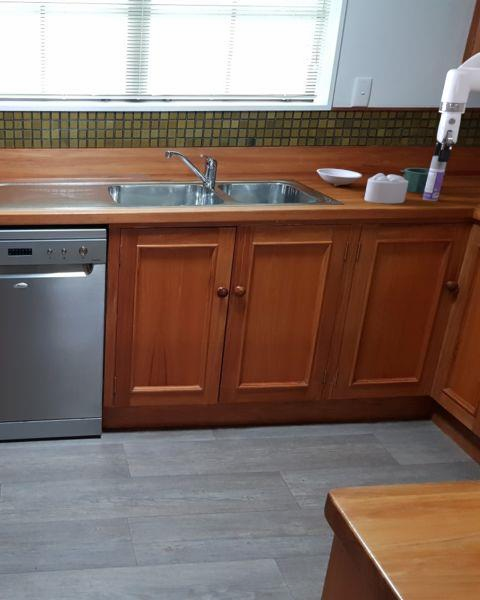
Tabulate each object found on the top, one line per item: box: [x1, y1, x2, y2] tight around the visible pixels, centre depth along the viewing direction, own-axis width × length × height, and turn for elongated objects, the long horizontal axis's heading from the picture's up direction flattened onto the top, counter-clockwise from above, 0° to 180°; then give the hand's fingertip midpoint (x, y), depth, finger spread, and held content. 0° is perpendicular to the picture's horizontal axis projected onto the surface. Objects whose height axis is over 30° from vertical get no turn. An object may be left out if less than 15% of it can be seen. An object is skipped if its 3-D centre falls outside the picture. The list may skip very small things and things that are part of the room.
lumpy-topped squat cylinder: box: [363, 172, 408, 204], centre depth 213 cm, size 10×13×9 cm
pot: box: [399, 167, 446, 194], centre depth 229 cm, size 15×12×7 cm
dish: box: [316, 168, 363, 187], centre depth 235 cm, size 18×14×5 cm
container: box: [422, 155, 447, 202], centre depth 213 cm, size 5×5×15 cm
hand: (440, 159), depth 211 cm, fingers open, 9 cm apart
